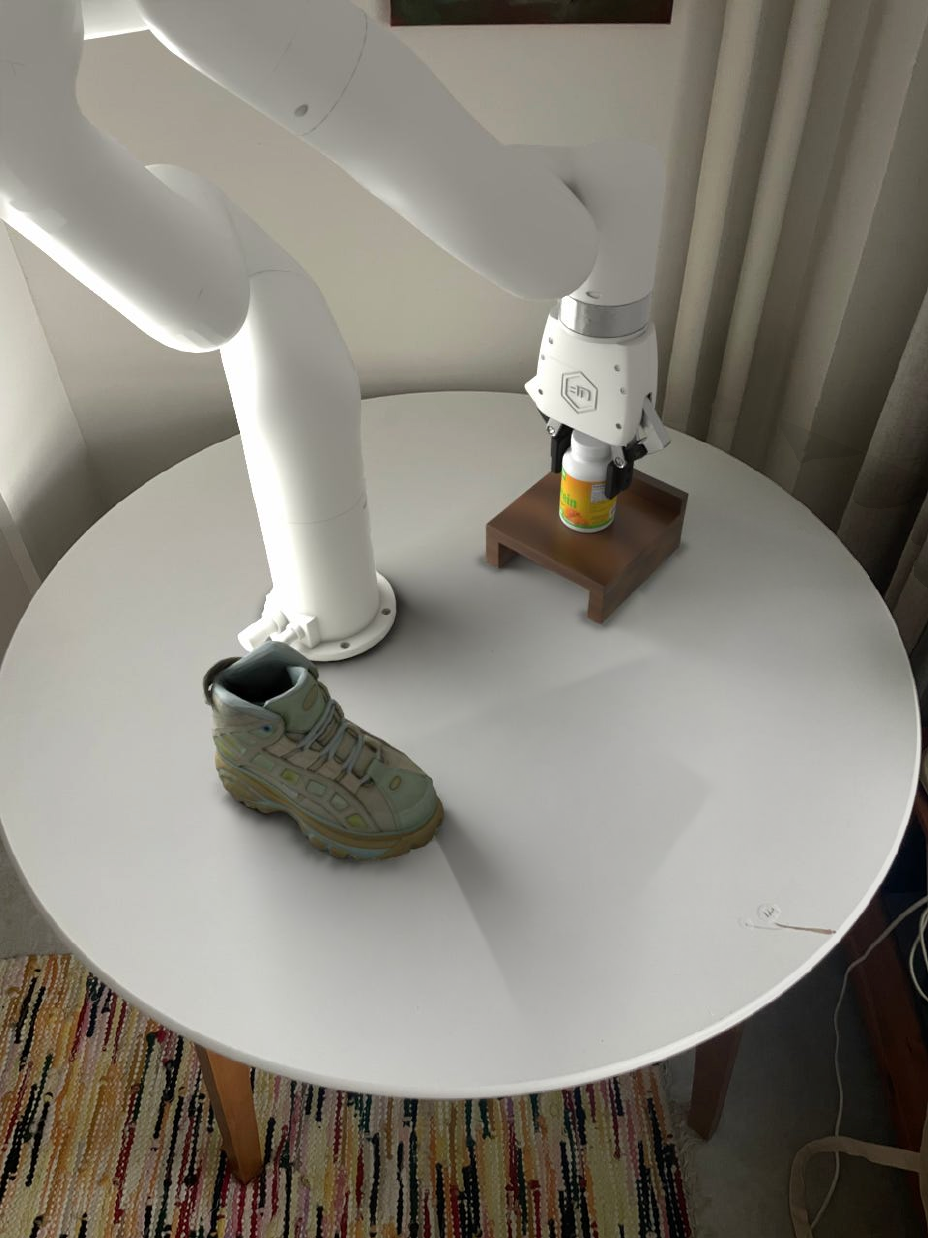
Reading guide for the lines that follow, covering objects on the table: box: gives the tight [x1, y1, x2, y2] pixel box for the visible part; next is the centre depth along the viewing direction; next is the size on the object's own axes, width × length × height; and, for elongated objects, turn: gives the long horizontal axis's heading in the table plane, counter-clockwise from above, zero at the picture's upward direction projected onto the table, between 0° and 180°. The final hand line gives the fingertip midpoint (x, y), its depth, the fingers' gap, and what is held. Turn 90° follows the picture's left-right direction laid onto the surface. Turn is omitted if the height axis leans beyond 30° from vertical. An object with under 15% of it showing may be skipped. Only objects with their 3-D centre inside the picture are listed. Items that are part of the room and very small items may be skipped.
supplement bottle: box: [559, 429, 617, 533], centre depth 97 cm, size 5×5×10 cm
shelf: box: [485, 467, 689, 625], centre depth 101 cm, size 14×14×7 cm
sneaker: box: [201, 639, 445, 862], centre depth 79 cm, size 11×19×15 cm, turn 53°
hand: (589, 477), depth 97 cm, fingers closed on supplement bottle, 5 cm apart
